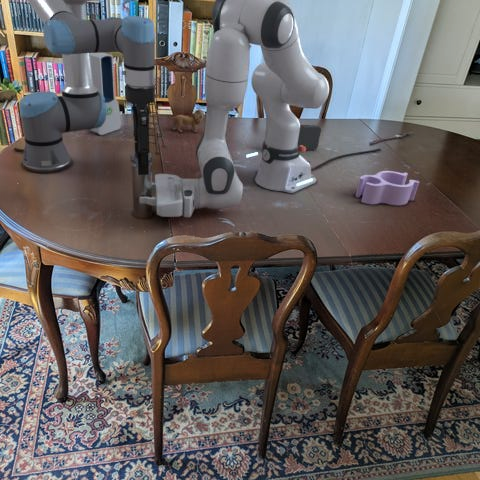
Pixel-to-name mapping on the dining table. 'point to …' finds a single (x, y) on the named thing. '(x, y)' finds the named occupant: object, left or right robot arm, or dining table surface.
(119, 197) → the dining table surface
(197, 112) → the lion figurine
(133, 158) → the lid
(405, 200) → the clip
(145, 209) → the jar
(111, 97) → the electronic device
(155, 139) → the miniature windmill
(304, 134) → the handheld gaming console
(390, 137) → the sword
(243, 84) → the right robot arm
